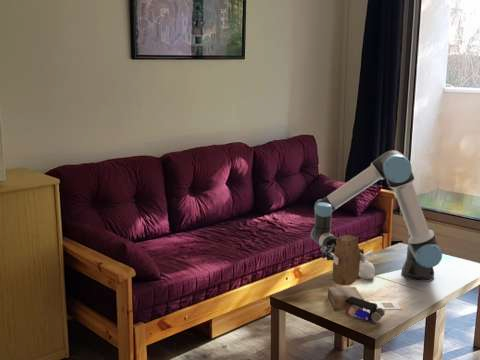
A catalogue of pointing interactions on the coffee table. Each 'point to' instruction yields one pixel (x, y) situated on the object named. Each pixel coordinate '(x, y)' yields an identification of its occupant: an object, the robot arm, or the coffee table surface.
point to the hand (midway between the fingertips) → (351, 260)
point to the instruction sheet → (386, 305)
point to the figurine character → (354, 311)
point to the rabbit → (367, 267)
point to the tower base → (342, 297)
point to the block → (346, 260)
